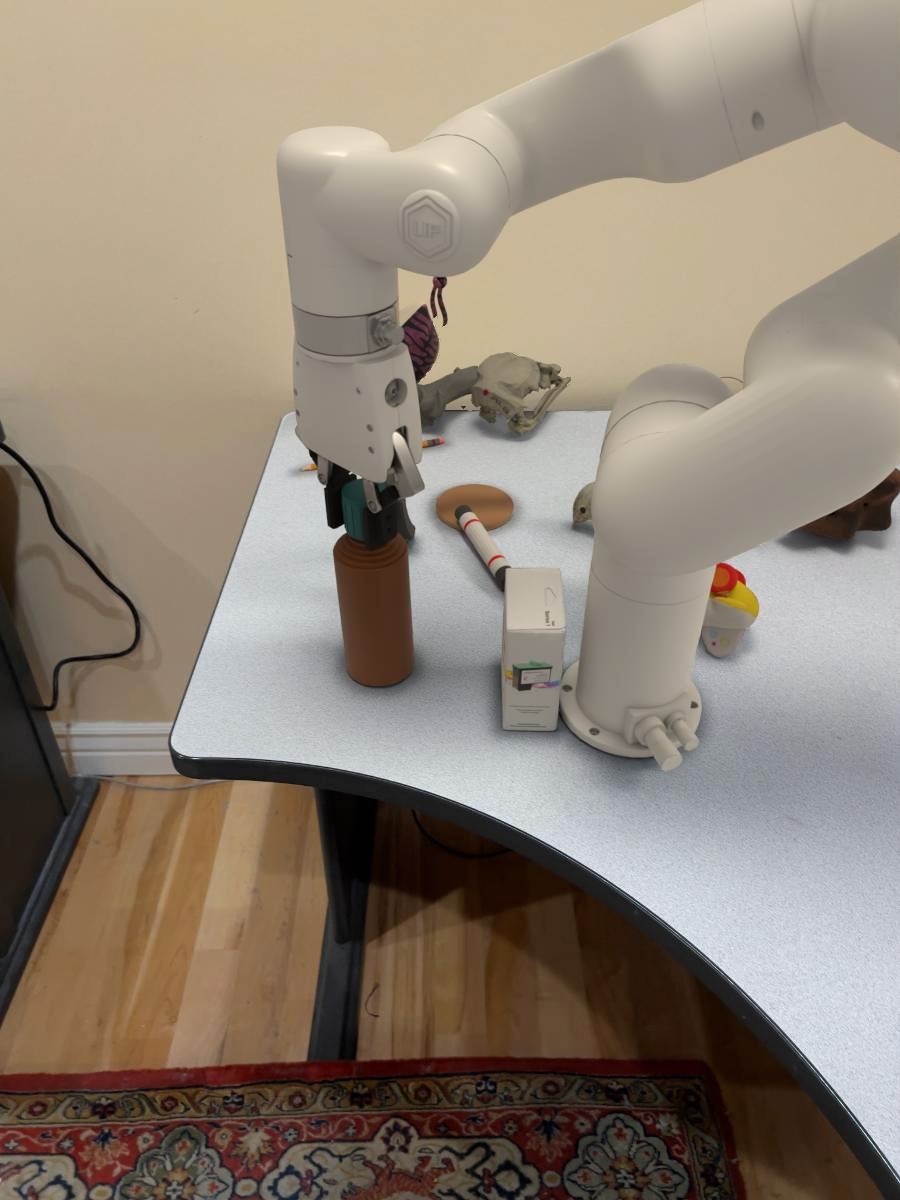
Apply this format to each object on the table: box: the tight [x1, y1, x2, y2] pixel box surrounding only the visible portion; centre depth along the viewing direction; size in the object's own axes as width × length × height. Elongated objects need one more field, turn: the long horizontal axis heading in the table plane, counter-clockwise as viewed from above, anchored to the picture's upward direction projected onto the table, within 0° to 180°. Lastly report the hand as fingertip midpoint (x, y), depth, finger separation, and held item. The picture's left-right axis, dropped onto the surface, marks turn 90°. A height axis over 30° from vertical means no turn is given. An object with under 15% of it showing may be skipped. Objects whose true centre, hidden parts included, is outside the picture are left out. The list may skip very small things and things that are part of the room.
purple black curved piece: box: [399, 276, 449, 384], centre depth 123 cm, size 25×8×19 cm
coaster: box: [435, 483, 515, 532], centre depth 107 cm, size 9×9×1 cm
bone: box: [416, 365, 478, 427], centre depth 125 cm, size 22×6×6 cm, turn 137°
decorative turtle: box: [800, 467, 900, 541], centre depth 100 cm, size 10×15×8 cm
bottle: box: [332, 532, 415, 687], centre depth 82 cm, size 6×6×18 cm
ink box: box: [500, 567, 567, 732], centre depth 80 cm, size 8×5×12 cm, turn 178°
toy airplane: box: [700, 562, 760, 658], centre depth 90 cm, size 13×9×15 cm
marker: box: [455, 505, 512, 590], centre depth 99 cm, size 15×2×2 cm, turn 21°
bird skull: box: [470, 351, 571, 437], centre depth 125 cm, size 25×14×10 cm, turn 168°
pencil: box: [298, 437, 445, 471], centre depth 116 cm, size 19×1×1 cm, turn 111°
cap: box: [341, 477, 386, 540], centre depth 77 cm, size 4×4×4 cm
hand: (362, 530), depth 78 cm, fingers closed on cap, 3 cm apart
